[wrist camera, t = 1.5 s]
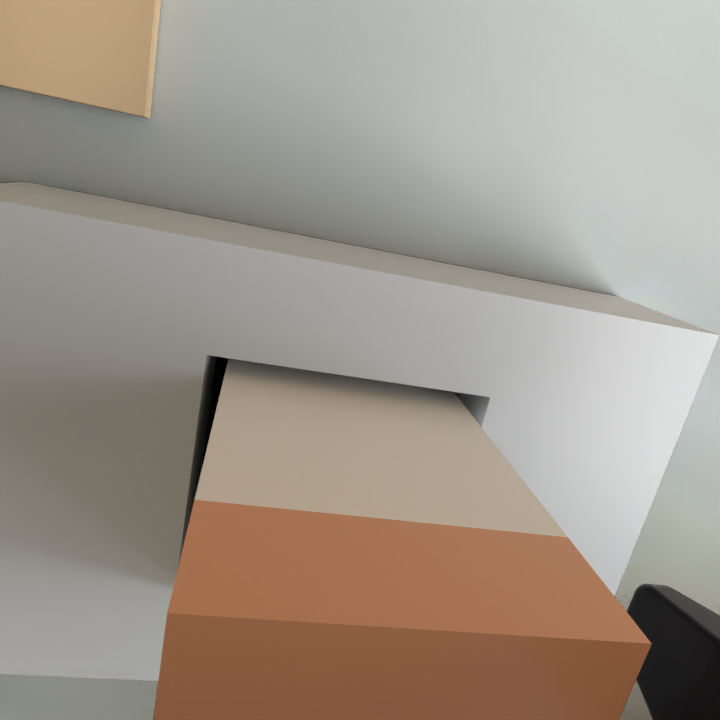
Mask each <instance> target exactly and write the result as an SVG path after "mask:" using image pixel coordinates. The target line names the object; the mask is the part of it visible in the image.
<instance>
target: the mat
mask: <svg viewBox="0 0 720 720" xmlns="http://www.w3.org/2000/svg"><path fill="white" fill-rule="evenodd" d="M160 9H161V0H0V85H1V86H6V87H10V88H15V89H19V90H24V91H28V92H33V93H37V94H42V95H46V96H51V97H55V98H60V99H64V100H69V101H73V102H78V103H82V104H87V105H91V106H96V107H100V108H105V109H109V110H114V111H118V112H123V113H127V114H132V115H136V116H141V117H145V118H150V117H151V106H152V95H153V84H154V74H155V63H156V52H157V41H158V30H159V20H160Z"/></svg>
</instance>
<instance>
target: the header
mask: <svg viewBox="0 0 720 720" xmlns="http://www.w3.org/2000/svg"><path fill="white" fill-rule="evenodd" d="M718 337H719V335H717V334H715V333H712V332H710V331H707V330H704V329H702V328H699V327H697V326H694V325H691V324H689V323H686V322H684V321H681V320H678V319H676V318H673V317H671V316H668V315H665V314H663V313H660V312H657V311H655V310H652V309H650V308H647V307H644V306H642V305H639V304H637V303H634V302H631V301H629V300H626V299H624V298H621V297H617V296H611V295H606V294H601V293H596V292H591V291H586V290H581V289H575V288H570V287H565V286H560V285H555V284H550V283H545V282H539V281H534V280H529V279H524V278H519V277H514V276H508V275H503V274H498V273H493V272H488V271H483V270H478V269H472V268H467V267H462V266H457V265H452V264H447V263H441V262H436V261H431V260H426V259H421V258H416V257H411V256H405V255H400V254H395V253H390V252H385V251H380V250H374V249H369V248H364V247H359V246H354V245H349V244H344V243H338V242H333V241H328V240H323V239H318V238H313V237H308V236H302V235H297V234H292V233H287V232H282V231H277V230H271V229H266V228H261V227H256V226H251V225H246V224H241V223H235V222H230V221H225V220H220V219H215V218H210V217H204V216H199V215H194V214H189V213H184V212H179V211H174V210H168V209H163V208H158V207H153V206H148V205H143V204H137V203H132V202H127V201H122V200H117V199H112V198H107V197H101V196H96V195H91V194H86V193H81V192H76V191H71V190H65V189H60V188H55V187H50V186H45V185H40V184H34V183H29V182H14V183H0V674H4V675H28V676H52V677H77V678H101V679H125V680H149V681H158V679H159V671H160V664H161V656H162V649H163V641H164V633H165V626H166V618H167V612H168V608H169V603H170V599H171V595H172V591H173V587H174V583H175V579H176V574H177V570H178V566H179V562H180V558H181V554H182V549H183V545H184V541H185V537H186V533H187V529H188V525H189V520H190V516H191V512H192V508H193V504H194V500H195V496H196V491H197V487H198V483H199V479H200V473H201V466H202V458H203V451H204V444H205V437H206V430H207V423H208V415H209V408H210V401H211V394H212V387H213V380H214V372H215V365H216V358H217V357H223V358H230V359H237V360H243V361H250V362H257V363H264V364H270V365H277V366H284V367H290V368H297V369H304V370H311V371H317V372H324V373H331V374H338V375H344V376H351V377H358V378H364V379H371V380H378V381H385V382H391V383H398V384H405V385H411V386H418V387H425V388H432V389H438V390H445V391H452V392H454V393H455V394H456V396H457V397H458V398H459V399H460V401H461V402H462V403H463V405H464V406H465V407H466V408H467V410H468V411H469V412H470V413H471V415H472V416H473V417H474V418H475V420H476V421H477V422H478V424H479V425H480V426H481V427H482V429H483V430H484V431H485V432H486V434H487V435H488V436H489V438H490V439H491V440H492V441H493V443H494V444H495V445H496V446H497V448H498V449H499V450H500V452H501V453H502V454H503V455H504V457H505V458H506V459H507V460H508V462H509V463H510V464H511V466H512V467H513V468H514V469H515V471H516V472H517V473H518V474H519V476H520V477H521V478H522V479H523V481H524V482H525V483H526V485H527V486H528V487H529V488H530V490H531V491H532V492H533V493H534V495H535V496H536V497H537V499H538V500H539V501H540V502H541V504H542V505H543V506H544V507H545V509H546V510H547V511H548V513H549V514H550V515H551V516H552V518H553V519H554V520H555V521H556V523H557V524H558V525H559V527H560V528H561V529H562V530H563V532H564V533H565V534H566V535H567V537H568V538H569V539H570V541H571V542H572V543H573V544H574V546H575V547H576V548H577V549H578V551H579V552H580V553H581V554H582V556H583V557H584V558H585V560H586V561H587V562H588V563H589V565H590V566H591V567H592V568H593V570H594V571H595V572H596V574H597V575H598V576H599V577H600V579H601V580H602V581H603V582H604V584H605V585H606V586H607V588H608V589H609V590H610V591H611V593H612V594H613V595H614V596H615V594H616V591H617V589H618V586H619V584H620V581H621V579H622V576H623V574H624V571H625V569H626V566H627V564H628V561H629V559H630V557H631V554H632V552H633V549H634V547H635V544H636V542H637V539H638V537H639V534H640V532H641V529H642V527H643V524H644V522H645V519H646V517H647V514H648V512H649V509H650V507H651V504H652V502H653V499H654V497H655V494H656V492H657V489H658V487H659V484H660V482H661V479H662V477H663V474H664V472H665V469H666V467H667V464H668V462H669V459H670V457H671V454H672V452H673V449H674V447H675V444H676V442H677V439H678V437H679V435H680V432H681V430H682V427H683V425H684V422H685V420H686V417H687V415H688V412H689V410H690V407H691V405H692V402H693V400H694V397H695V395H696V392H697V390H698V387H699V385H700V382H701V380H702V377H703V375H704V372H705V370H706V367H707V365H708V362H709V360H710V357H711V355H712V352H713V350H714V347H715V345H716V342H717V340H718Z"/></svg>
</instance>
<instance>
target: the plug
mask: <svg viewBox="0 0 720 720" xmlns="http://www.w3.org/2000/svg"><path fill="white" fill-rule="evenodd" d="M651 644H652V643H651V642H650V641H649V640H648V638H647V637H646V636H645V635H644V633H643V632H642V631H641V629H640V628H639V627H638V626H637V624H636V623H635V622H634V621H633V619H632V618H631V617H630V615H629V614H628V613H627V612H626V610H625V609H624V608H623V607H622V605H621V604H620V603H619V602H618V600H617V599H616V598H615V596H614V595H613V594H612V593H611V591H610V590H609V589H608V588H607V586H606V585H605V584H604V582H603V581H602V580H601V579H600V577H599V576H598V575H597V574H596V572H595V571H594V570H593V568H592V567H591V566H590V565H589V563H588V562H587V561H586V560H585V558H584V557H583V556H582V554H581V553H580V552H579V551H578V549H577V548H576V547H575V546H574V544H573V543H572V542H571V541H570V539H569V538H568V537H567V535H566V534H565V533H564V532H563V530H562V529H561V528H560V527H559V525H558V524H557V523H556V521H555V520H554V519H553V518H552V516H551V515H550V514H549V513H548V511H547V510H546V509H545V507H544V506H543V505H542V504H541V502H540V501H539V500H538V499H537V497H536V496H535V495H534V493H533V492H532V491H531V490H530V488H529V487H528V486H527V485H526V483H525V482H524V481H523V479H522V478H521V477H520V476H519V474H518V473H517V472H516V471H515V469H514V468H513V467H512V466H511V464H510V463H509V462H508V460H507V459H506V458H505V457H504V455H503V454H502V453H501V452H500V450H499V449H498V448H497V446H496V445H495V444H494V443H493V441H492V440H491V439H490V438H489V436H488V435H487V434H486V432H485V431H484V430H483V429H482V427H481V426H480V425H479V424H478V422H477V421H476V420H475V418H474V417H473V416H472V415H471V413H470V412H469V411H468V410H467V408H466V407H465V406H464V405H463V403H462V402H461V401H460V399H459V398H458V397H457V396H456V394H455V393H454V392H452V391H445V390H438V389H432V388H425V387H418V386H411V385H405V384H398V383H391V382H385V381H378V380H371V379H364V378H358V377H351V376H344V375H338V374H331V373H324V372H317V371H311V370H304V369H297V368H290V367H284V366H277V365H270V364H264V363H257V362H250V361H243V360H237V359H230V358H229V359H228V363H227V367H226V371H225V375H224V379H223V384H222V388H221V392H220V396H219V400H218V404H217V408H216V413H215V417H214V421H213V425H212V429H211V433H210V437H209V442H208V446H207V450H206V454H205V458H204V462H203V467H202V471H201V475H200V479H199V483H198V487H197V491H196V496H195V500H194V504H193V508H192V512H191V516H190V520H189V525H188V529H187V533H186V537H185V541H184V545H183V549H182V554H181V558H180V562H179V566H178V570H177V574H176V579H175V583H174V587H173V591H172V595H171V599H170V603H169V608H168V612H167V618H166V626H165V633H164V641H163V649H162V656H161V664H160V671H159V679H158V687H157V694H156V702H155V710H154V717H153V720H619V718H620V715H621V713H622V711H623V708H624V706H625V704H626V702H627V699H628V697H629V695H630V692H631V690H632V688H633V686H634V683H635V681H636V679H637V676H638V674H639V672H640V670H641V667H642V665H643V663H644V660H645V658H646V656H647V654H648V651H649V649H650V647H651Z"/></svg>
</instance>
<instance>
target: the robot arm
mask: <svg viewBox="0 0 720 720" xmlns="http://www.w3.org/2000/svg"><path fill="white" fill-rule="evenodd" d="M627 613H628V614H629V615H630V617H631V618H632V619H633V621H634V622H635V623H636V624H637V626H638V627H639V628H640V629H641V631H642V632H643V633H644V635H645V636H646V637H647V638H648V640H649V641H650V642H651V643H652V644H651V647H650V649H649V651H648V654H647V656H646V658H645V660H644V663H643V665H642V667H641V670H640V672H639V674H638V676H637V679H636V680H637V682H638V685H639V687H640V690H641V692H642V694H643V697H644V699H645V702H646V704H647V707H648V709H649V711H650V714H651V716H652V719H653V720H720V615H718V614H716V613H714V612H713V611H711V610H709V609H707V608H706V607H704V606H702V605H700V604H699V603H697V602H695V601H693V600H692V599H690V598H688V597H687V596H685V595H683V594H681V593H680V592H678V591H676V590H674V589H673V588H671V587H668V586H665V585H653V584H643V585H640V586H639V587H638V588H637V589H636V591H635V593H634V595H633V597H632V600H631V602H630V605H629V607H628V610H627Z"/></svg>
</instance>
